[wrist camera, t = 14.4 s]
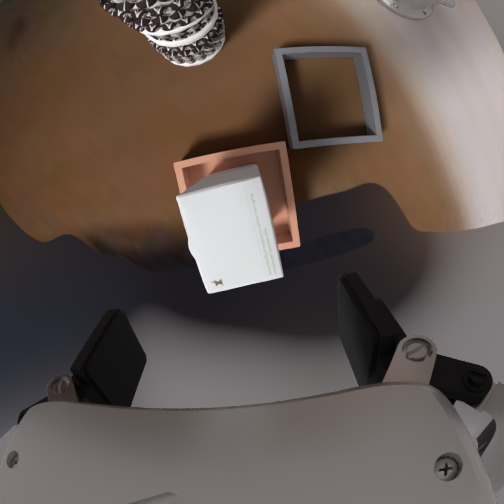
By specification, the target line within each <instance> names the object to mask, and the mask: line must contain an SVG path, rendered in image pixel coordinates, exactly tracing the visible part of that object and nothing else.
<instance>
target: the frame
mask: <svg viewBox="0 0 504 504" xmlns="http://www.w3.org/2000/svg"><path fill="white" fill-rule="evenodd" d="M312 58H353V61H354V65H355V70H356V74H357V79H358V84H359V89H360V94H361V100H362V105H363V111H364V118H365V124H366V131H367V135H360V136H346V137H333V138H323V139H313V140H304V141H299V139H298V133H297V127H296V121H295V115H294V110H293V104H292V99H291V94H290V89H289V84H288V79H287V74H286V69H285V65H284V60H294V59H312ZM272 60H273V65H274V70H275V75H276V79H277V84H278V89H279V94H280V100H281V105H282V110H283V116H284V121H285V127H286V132H287V138H288V144H289V149H301V148H309V147H318V146H327V145H337V144H349V143H363V142H380V141H383V137H382V129H381V122H380V115H379V108H378V102H377V97H376V91H375V86H374V81H373V76H372V72H371V67H370V63H369V59H368V55H367V51H366V47H347V46H310V47H290V48H278V49H274V50H273V53H272Z"/></svg>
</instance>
